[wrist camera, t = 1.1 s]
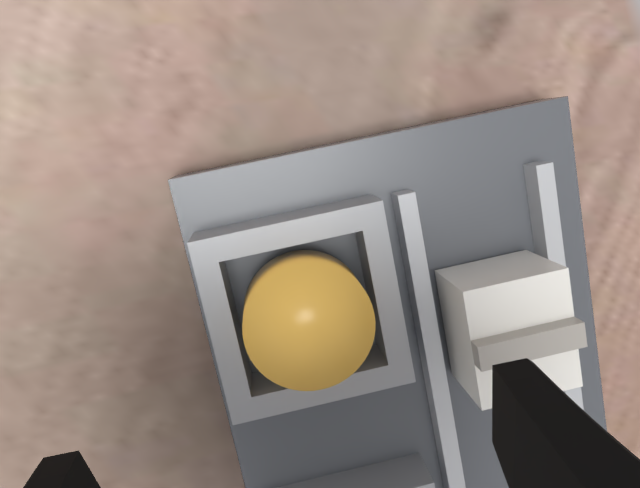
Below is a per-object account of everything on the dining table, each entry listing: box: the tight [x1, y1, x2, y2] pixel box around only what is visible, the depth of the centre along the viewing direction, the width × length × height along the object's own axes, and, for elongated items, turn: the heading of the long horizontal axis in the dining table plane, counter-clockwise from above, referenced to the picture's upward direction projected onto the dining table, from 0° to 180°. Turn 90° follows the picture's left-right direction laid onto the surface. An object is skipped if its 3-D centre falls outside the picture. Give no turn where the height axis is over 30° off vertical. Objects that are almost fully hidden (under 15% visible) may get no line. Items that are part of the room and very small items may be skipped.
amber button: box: [242, 250, 376, 391], centre depth 19 cm, size 4×4×2 cm
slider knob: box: [434, 250, 588, 411], centre depth 20 cm, size 4×3×4 cm
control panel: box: [168, 96, 607, 488], centre depth 22 cm, size 20×14×4 cm
